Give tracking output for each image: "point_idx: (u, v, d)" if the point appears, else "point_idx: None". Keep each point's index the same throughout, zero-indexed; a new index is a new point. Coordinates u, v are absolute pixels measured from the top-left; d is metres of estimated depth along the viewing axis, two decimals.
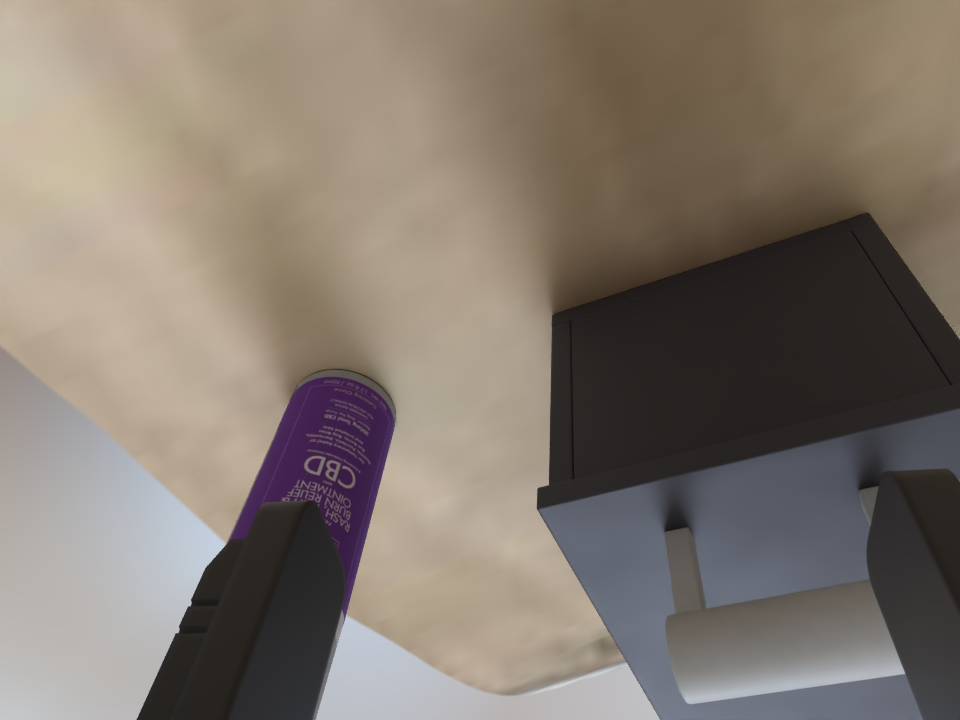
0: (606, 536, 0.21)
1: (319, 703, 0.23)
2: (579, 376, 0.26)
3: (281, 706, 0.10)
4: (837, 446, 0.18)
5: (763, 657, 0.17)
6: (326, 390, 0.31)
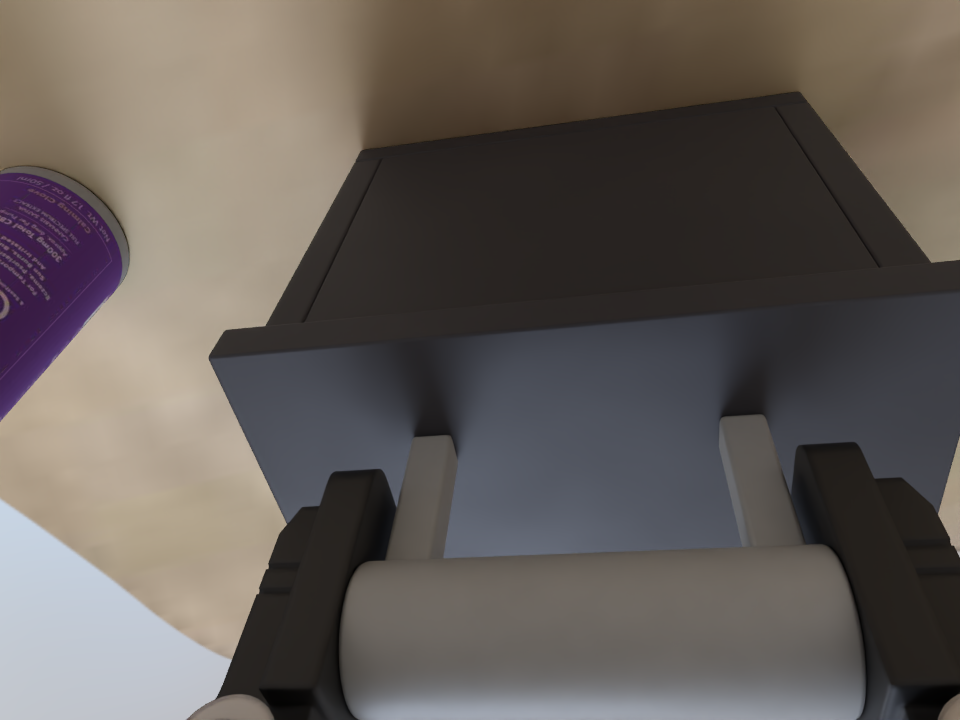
0: (321, 429, 0.13)
1: None
2: (364, 216, 0.17)
3: None
4: (705, 330, 0.11)
5: (501, 655, 0.09)
6: (15, 188, 0.21)
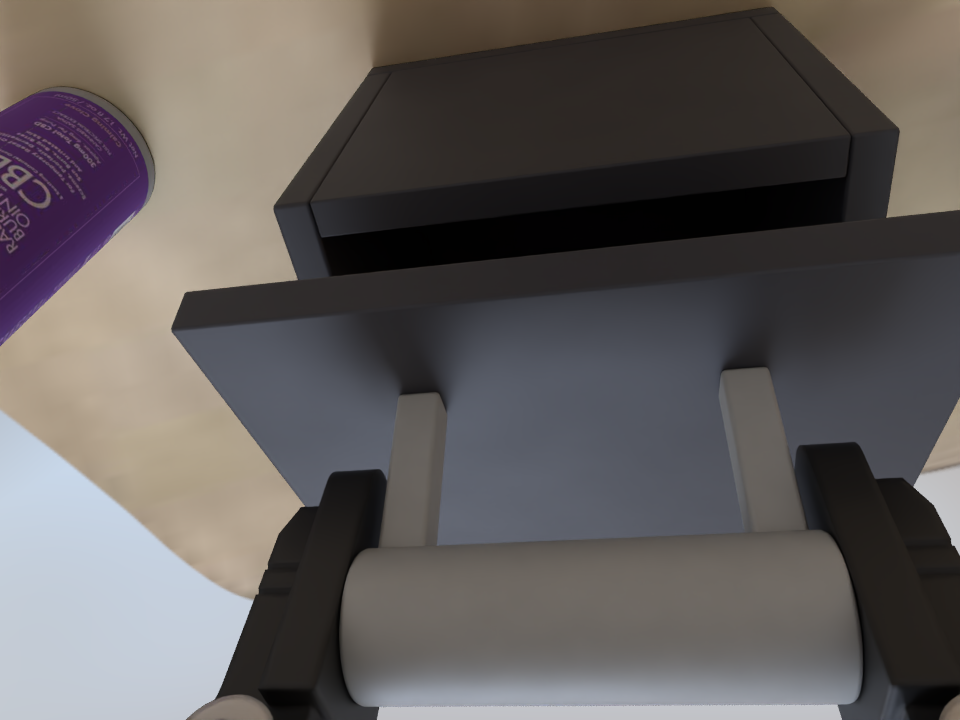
0: (301, 390, 0.12)
1: None
2: (376, 110, 0.19)
3: None
4: (711, 293, 0.10)
5: (502, 661, 0.09)
6: (53, 102, 0.23)
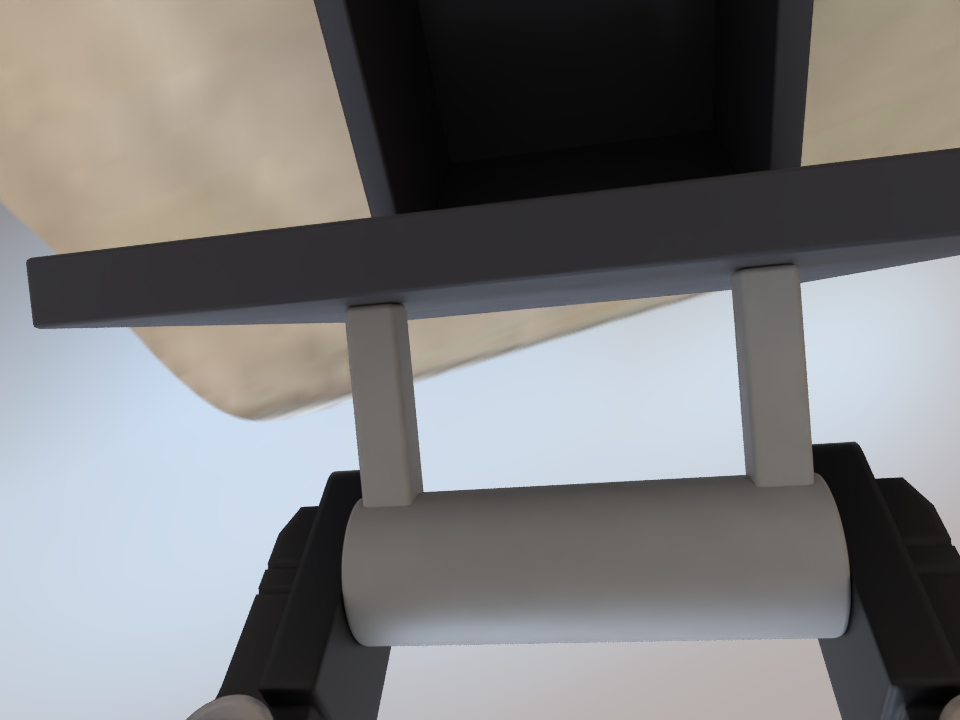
0: (223, 318, 0.10)
1: None
2: None
3: (360, 664, 0.10)
4: (745, 259, 0.07)
5: (508, 637, 0.09)
6: None
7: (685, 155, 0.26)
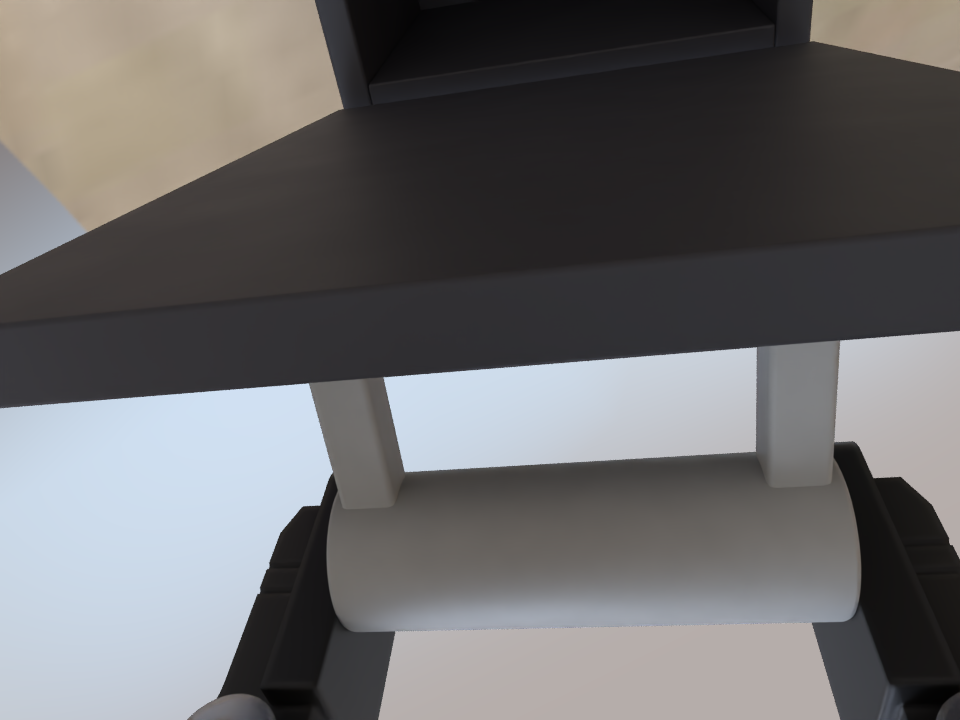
0: None
1: None
2: None
3: (361, 663, 0.10)
4: None
5: (506, 628, 0.09)
6: None
7: None
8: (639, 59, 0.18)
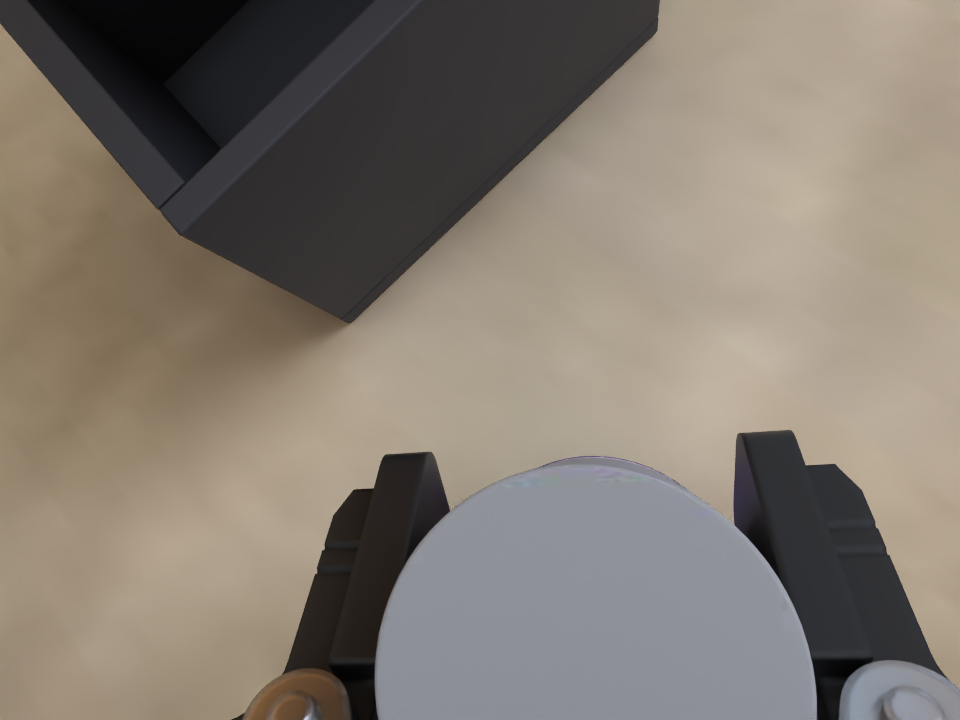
0: None
1: (555, 463, 0.10)
2: None
3: None
4: None
5: None
6: None
7: None
8: None
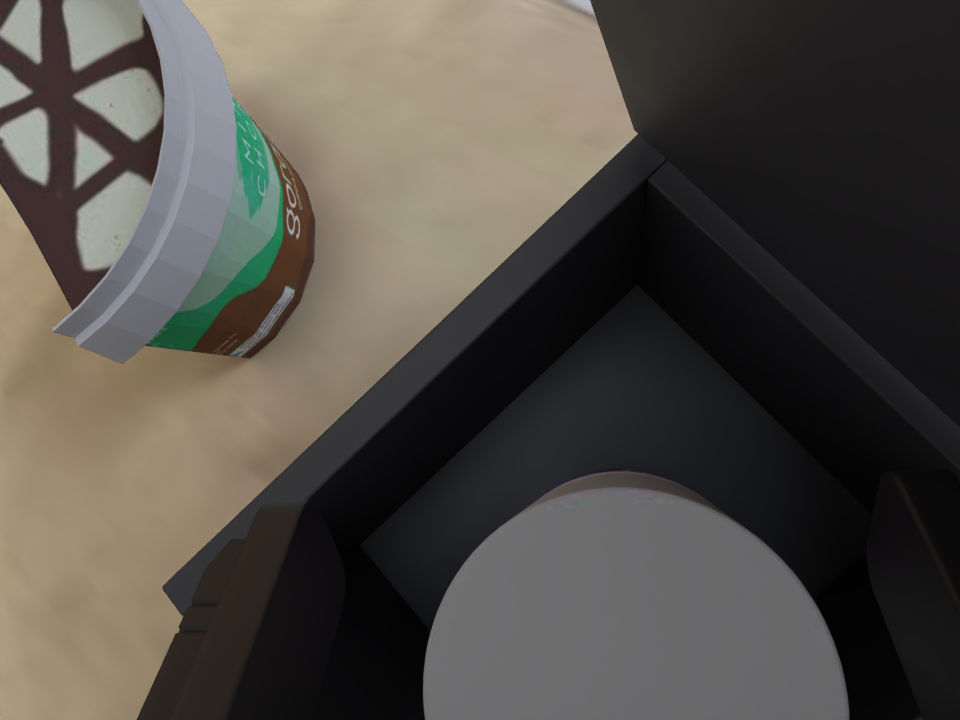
0: None
1: (589, 481, 0.10)
2: None
3: (281, 706, 0.10)
4: None
5: None
6: None
7: (671, 297, 0.21)
8: (781, 277, 0.14)
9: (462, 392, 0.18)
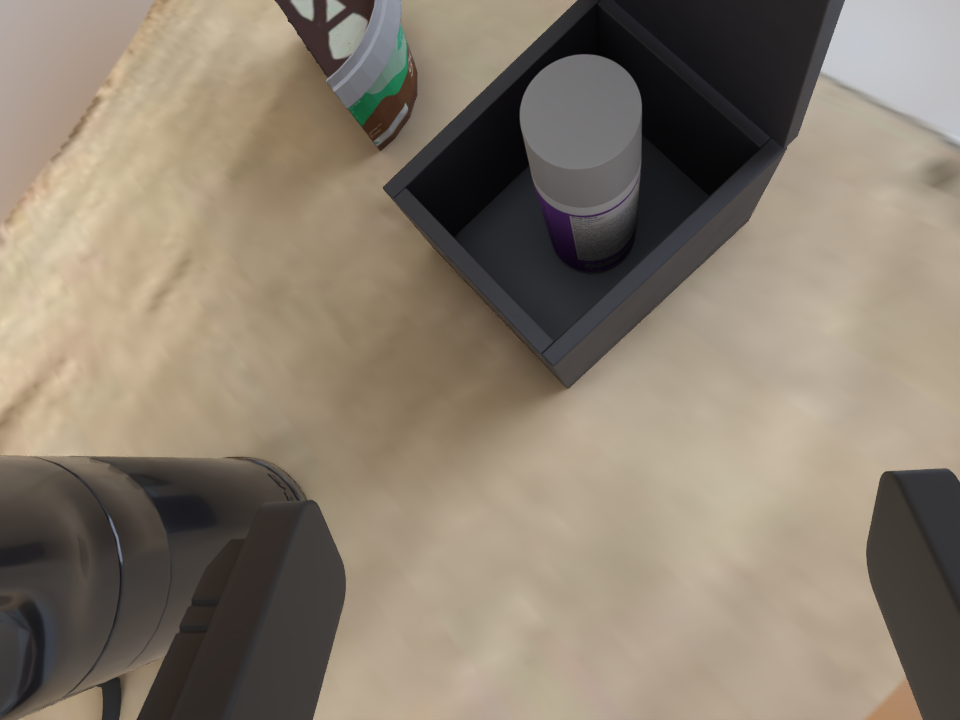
0: None
1: None
2: (547, 365, 0.38)
3: (281, 705, 0.10)
4: None
5: None
6: None
7: None
8: (651, 41, 0.34)
9: (512, 118, 0.37)
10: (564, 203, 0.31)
